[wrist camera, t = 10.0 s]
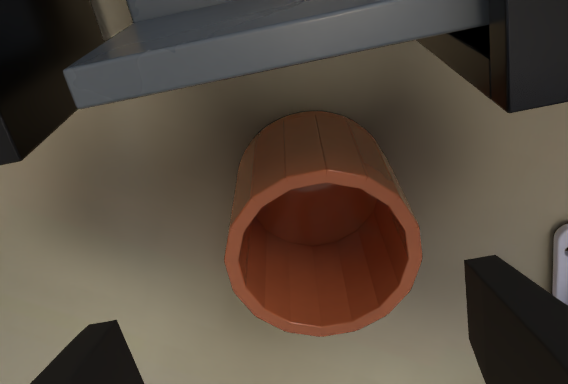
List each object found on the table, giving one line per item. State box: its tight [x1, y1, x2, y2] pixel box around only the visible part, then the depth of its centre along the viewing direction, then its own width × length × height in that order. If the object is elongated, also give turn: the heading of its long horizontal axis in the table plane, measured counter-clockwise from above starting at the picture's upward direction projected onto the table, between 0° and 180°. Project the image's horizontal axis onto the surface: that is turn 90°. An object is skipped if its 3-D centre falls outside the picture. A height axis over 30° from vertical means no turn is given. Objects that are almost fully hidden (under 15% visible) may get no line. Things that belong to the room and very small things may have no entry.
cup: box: [224, 111, 423, 337], centre depth 17 cm, size 5×5×5 cm
